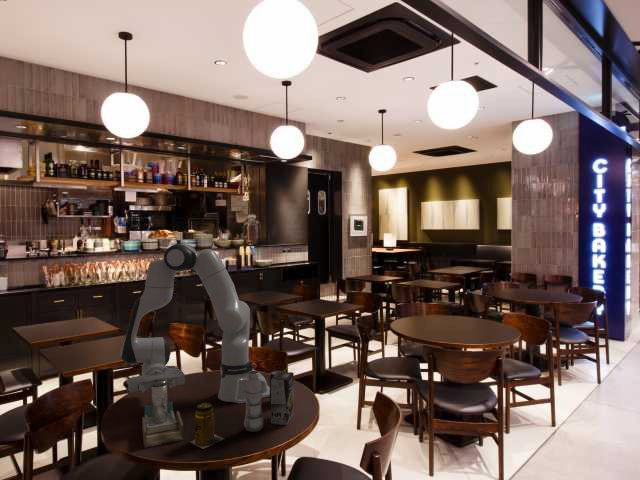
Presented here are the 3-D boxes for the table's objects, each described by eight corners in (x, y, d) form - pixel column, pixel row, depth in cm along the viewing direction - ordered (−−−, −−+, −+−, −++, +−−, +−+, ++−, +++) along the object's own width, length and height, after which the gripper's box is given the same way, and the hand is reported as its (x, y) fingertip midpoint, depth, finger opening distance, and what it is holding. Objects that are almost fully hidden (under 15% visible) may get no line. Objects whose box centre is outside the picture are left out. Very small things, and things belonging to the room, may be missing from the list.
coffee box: (287, 425, 154) (287, 380, 154) (270, 424, 155) (270, 379, 155) (294, 414, 163) (294, 372, 163) (277, 413, 164) (277, 371, 164)
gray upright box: (283, 406, 171) (283, 375, 171) (266, 404, 173) (266, 374, 173) (289, 399, 178) (289, 370, 177) (273, 398, 180) (273, 369, 179)
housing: (178, 424, 155) (178, 410, 155) (183, 440, 143) (183, 424, 143) (142, 431, 150) (142, 416, 150) (144, 447, 138) (144, 432, 138)
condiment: (189, 442, 142) (189, 405, 142) (211, 433, 148) (211, 398, 148) (202, 449, 137) (202, 411, 137) (224, 439, 144) (224, 403, 143)
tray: (172, 416, 161) (172, 401, 161) (176, 430, 150) (176, 414, 150) (144, 420, 157) (144, 405, 157) (146, 435, 146) (146, 419, 146)
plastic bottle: (255, 436, 146) (254, 376, 145) (240, 431, 149) (239, 373, 149) (267, 428, 151) (267, 371, 151) (252, 424, 155) (252, 368, 155)
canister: (167, 416, 157) (166, 377, 157) (168, 422, 152) (167, 382, 152) (151, 419, 155) (150, 380, 155) (152, 425, 150) (151, 384, 150)
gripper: (126, 372, 167) (127, 383, 155) (181, 365, 176) (187, 375, 163) (126, 388, 167) (127, 401, 155) (181, 380, 176) (187, 392, 164)
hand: (158, 387), depth 159 cm, fingers open, 8 cm apart
